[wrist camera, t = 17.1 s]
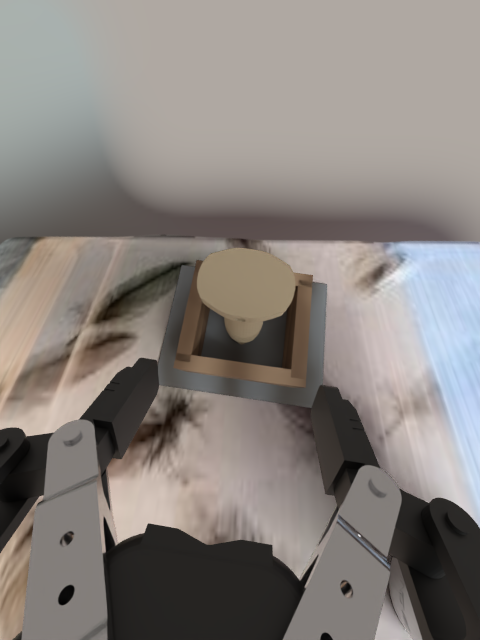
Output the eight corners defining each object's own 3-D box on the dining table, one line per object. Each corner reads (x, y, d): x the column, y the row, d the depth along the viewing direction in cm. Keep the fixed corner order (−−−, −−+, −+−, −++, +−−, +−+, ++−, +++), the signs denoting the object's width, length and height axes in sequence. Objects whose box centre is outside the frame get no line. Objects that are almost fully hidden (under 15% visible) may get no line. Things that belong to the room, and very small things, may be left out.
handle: (221, 310, 30) (205, 242, 16) (270, 318, 30) (299, 256, 16) (214, 346, 29) (189, 308, 15) (265, 355, 29) (291, 324, 14)
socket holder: (326, 285, 32) (345, 263, 26) (320, 409, 28) (341, 415, 22) (182, 266, 33) (170, 240, 27) (154, 384, 28) (133, 383, 23)
